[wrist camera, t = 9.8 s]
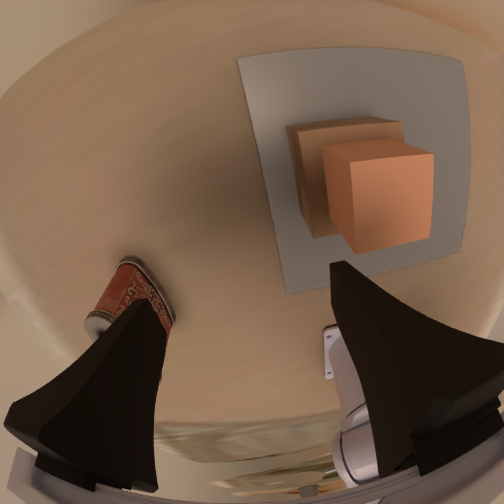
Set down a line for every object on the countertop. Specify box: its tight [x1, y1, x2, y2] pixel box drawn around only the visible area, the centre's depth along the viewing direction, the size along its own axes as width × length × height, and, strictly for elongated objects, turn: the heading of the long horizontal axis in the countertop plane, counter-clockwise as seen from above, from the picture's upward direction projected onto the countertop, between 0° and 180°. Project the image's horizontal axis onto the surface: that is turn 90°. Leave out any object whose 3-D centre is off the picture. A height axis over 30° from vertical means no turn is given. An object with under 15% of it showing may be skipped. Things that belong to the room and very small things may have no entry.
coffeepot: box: [299, 485, 318, 498], centre depth 74 cm, size 15×9×18 cm, turn 77°
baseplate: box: [237, 47, 471, 295], centre depth 17 cm, size 18×18×1 cm
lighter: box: [84, 256, 176, 385], centre depth 19 cm, size 8×3×10 cm, turn 17°
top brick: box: [321, 138, 434, 255], centre depth 12 cm, size 4×4×4 cm
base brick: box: [286, 117, 404, 239], centre depth 15 cm, size 6×6×4 cm
